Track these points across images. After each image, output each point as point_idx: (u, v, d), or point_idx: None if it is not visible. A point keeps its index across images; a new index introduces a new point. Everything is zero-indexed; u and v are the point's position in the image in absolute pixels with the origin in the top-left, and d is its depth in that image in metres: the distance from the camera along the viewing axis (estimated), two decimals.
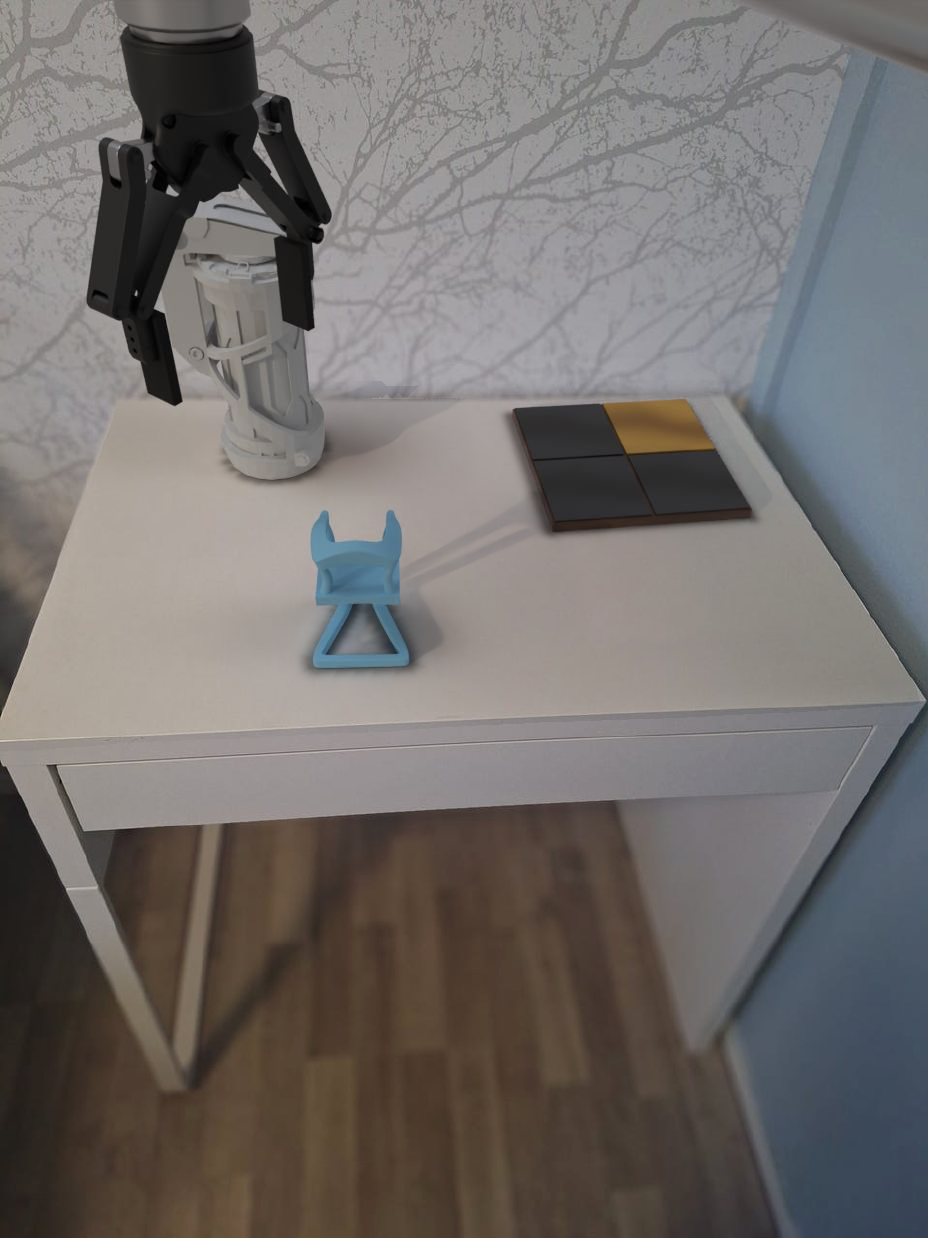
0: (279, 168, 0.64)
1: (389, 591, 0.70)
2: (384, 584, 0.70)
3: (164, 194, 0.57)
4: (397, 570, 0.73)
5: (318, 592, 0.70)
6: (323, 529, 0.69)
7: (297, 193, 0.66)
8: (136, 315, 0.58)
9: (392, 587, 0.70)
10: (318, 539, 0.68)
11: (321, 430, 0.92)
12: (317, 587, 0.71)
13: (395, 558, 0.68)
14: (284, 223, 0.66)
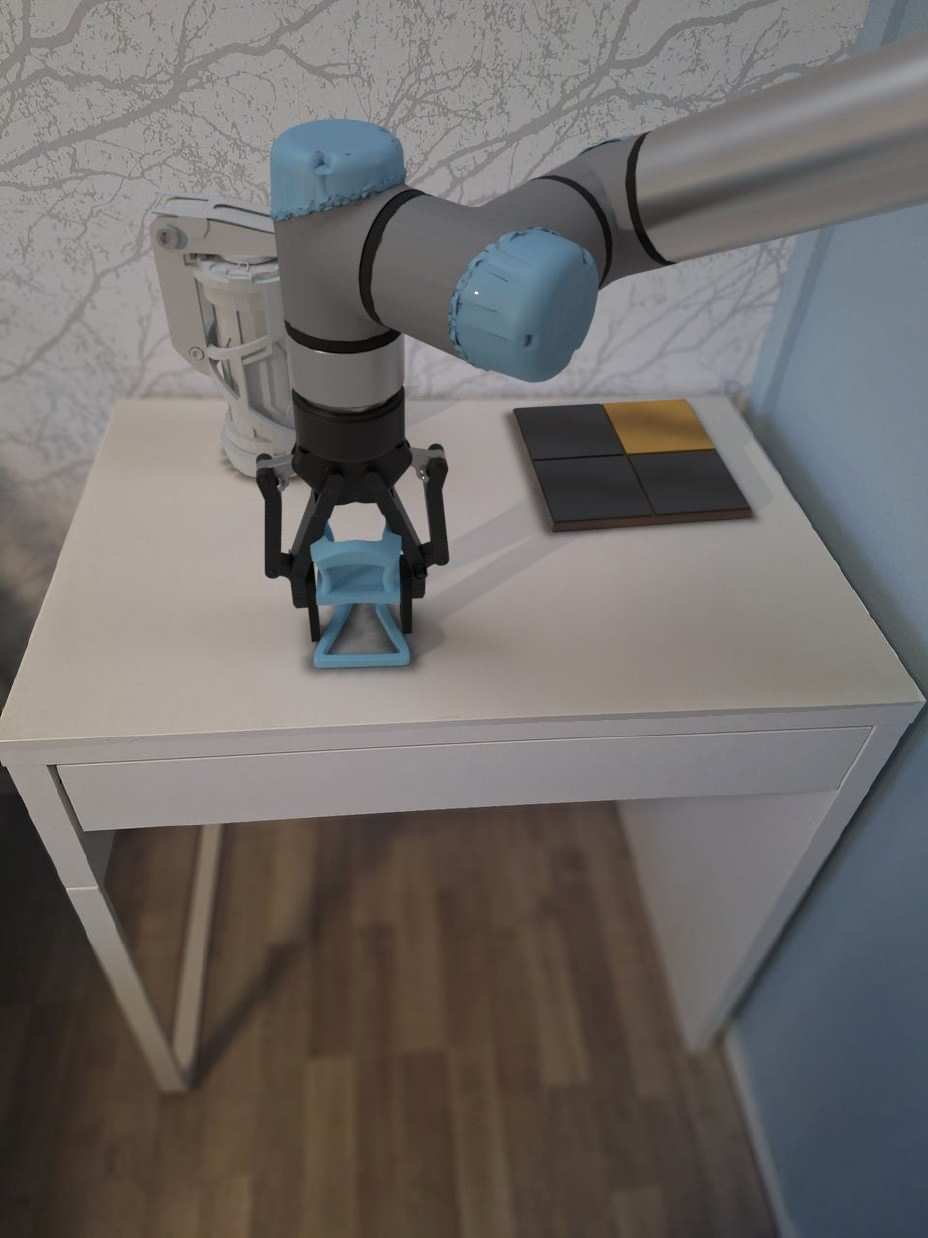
0: None
1: (389, 590, 0.70)
2: (384, 583, 0.70)
3: (314, 497, 0.67)
4: (397, 569, 0.73)
5: (319, 592, 0.70)
6: None
7: (429, 529, 0.71)
8: None
9: (392, 586, 0.70)
10: None
11: None
12: (317, 587, 0.71)
13: (395, 557, 0.68)
14: None
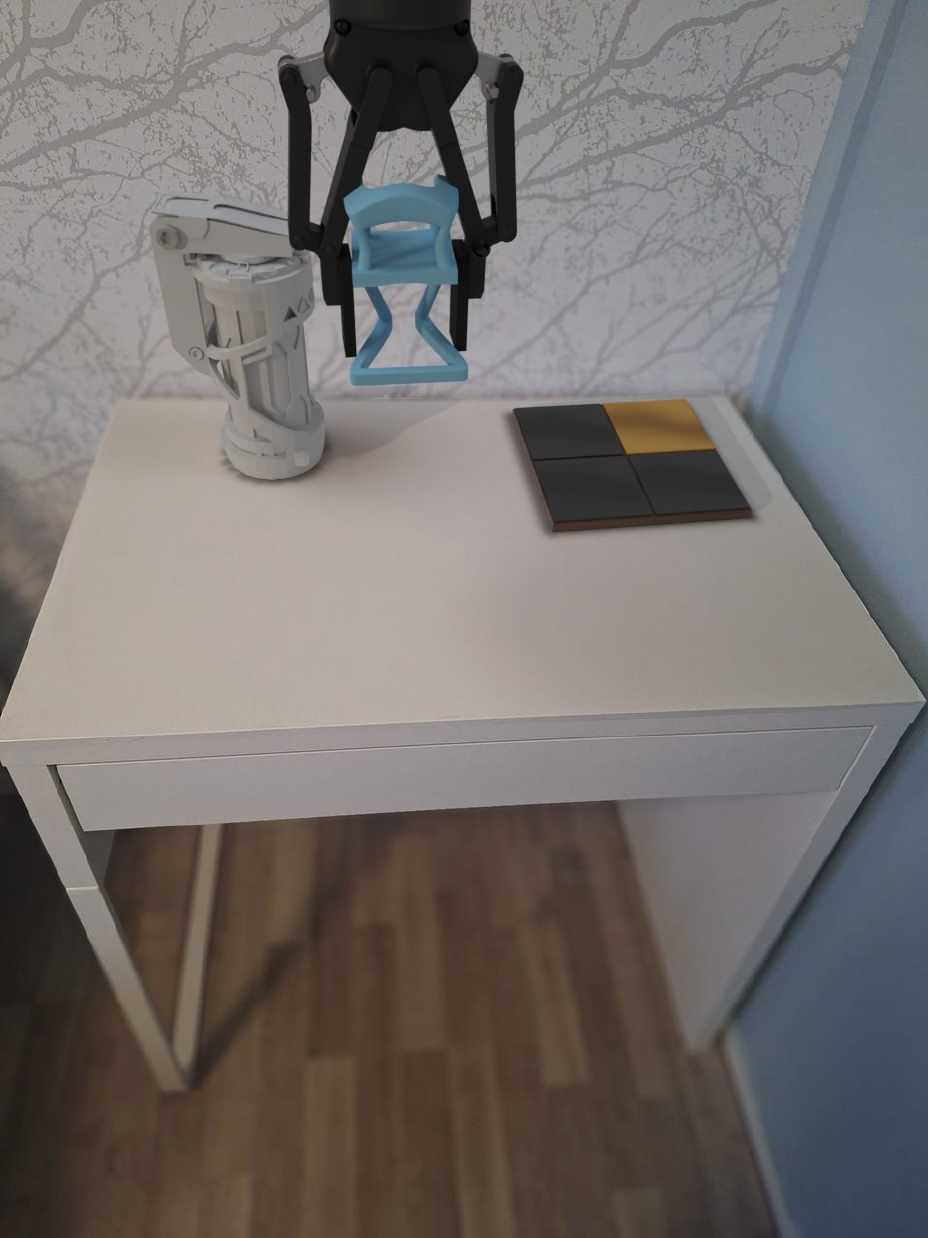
0: (489, 151, 0.55)
1: (443, 265, 0.56)
2: (437, 255, 0.56)
3: (351, 124, 0.52)
4: (450, 250, 0.58)
5: (355, 270, 0.56)
6: None
7: (492, 189, 0.56)
8: None
9: (447, 259, 0.56)
10: None
11: (321, 430, 0.92)
12: (353, 265, 0.56)
13: (452, 208, 0.54)
14: (459, 216, 0.57)
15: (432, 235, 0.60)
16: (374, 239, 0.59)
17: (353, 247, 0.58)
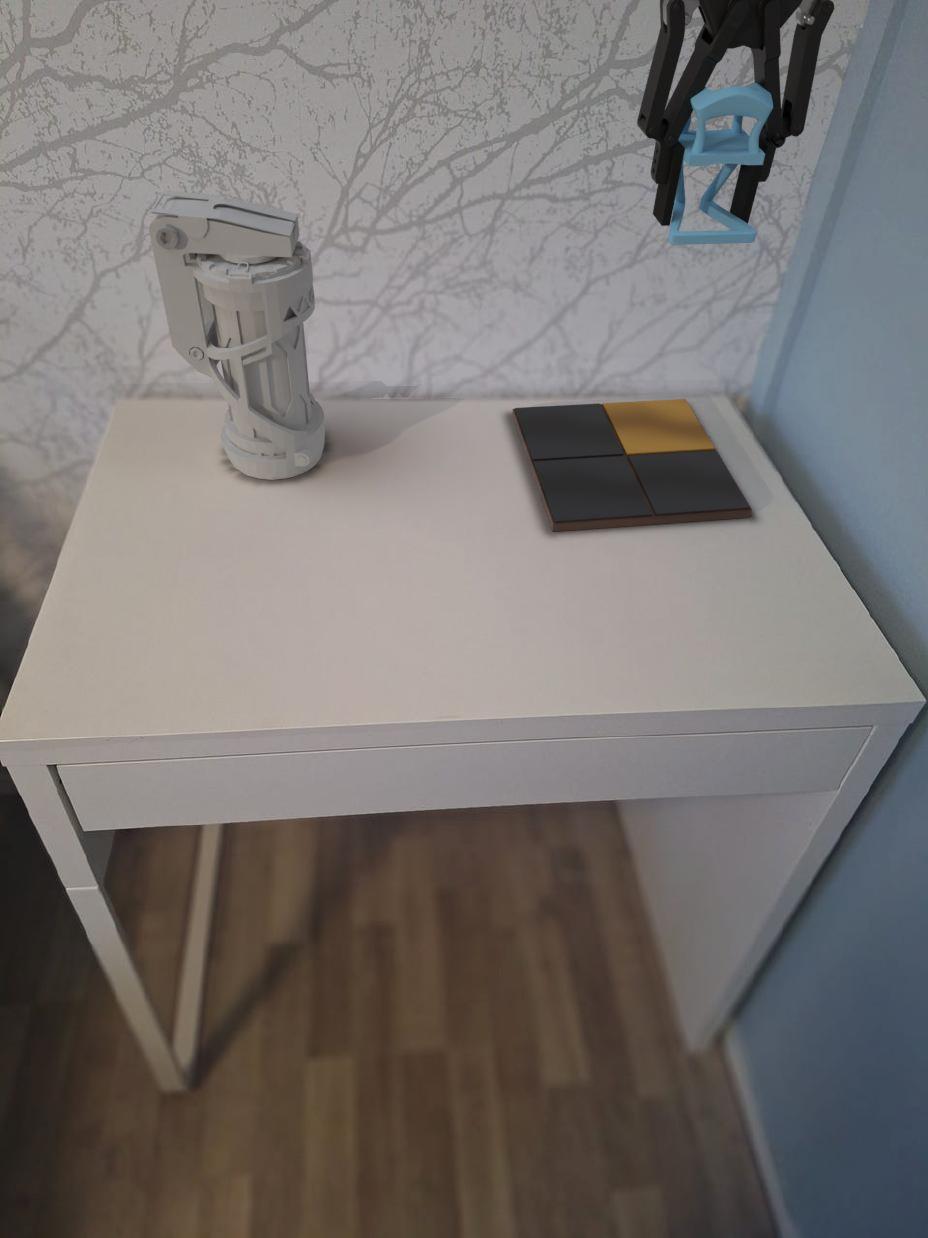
0: (790, 67, 0.76)
1: (754, 150, 0.77)
2: (751, 142, 0.77)
3: (704, 43, 0.73)
4: None
5: (691, 152, 0.77)
6: None
7: (789, 95, 0.77)
8: (664, 142, 0.77)
9: (757, 146, 0.77)
10: None
11: (321, 430, 0.92)
12: (687, 150, 0.77)
13: (770, 105, 0.74)
14: None
15: (733, 132, 0.80)
16: (691, 135, 0.80)
17: (679, 139, 0.79)
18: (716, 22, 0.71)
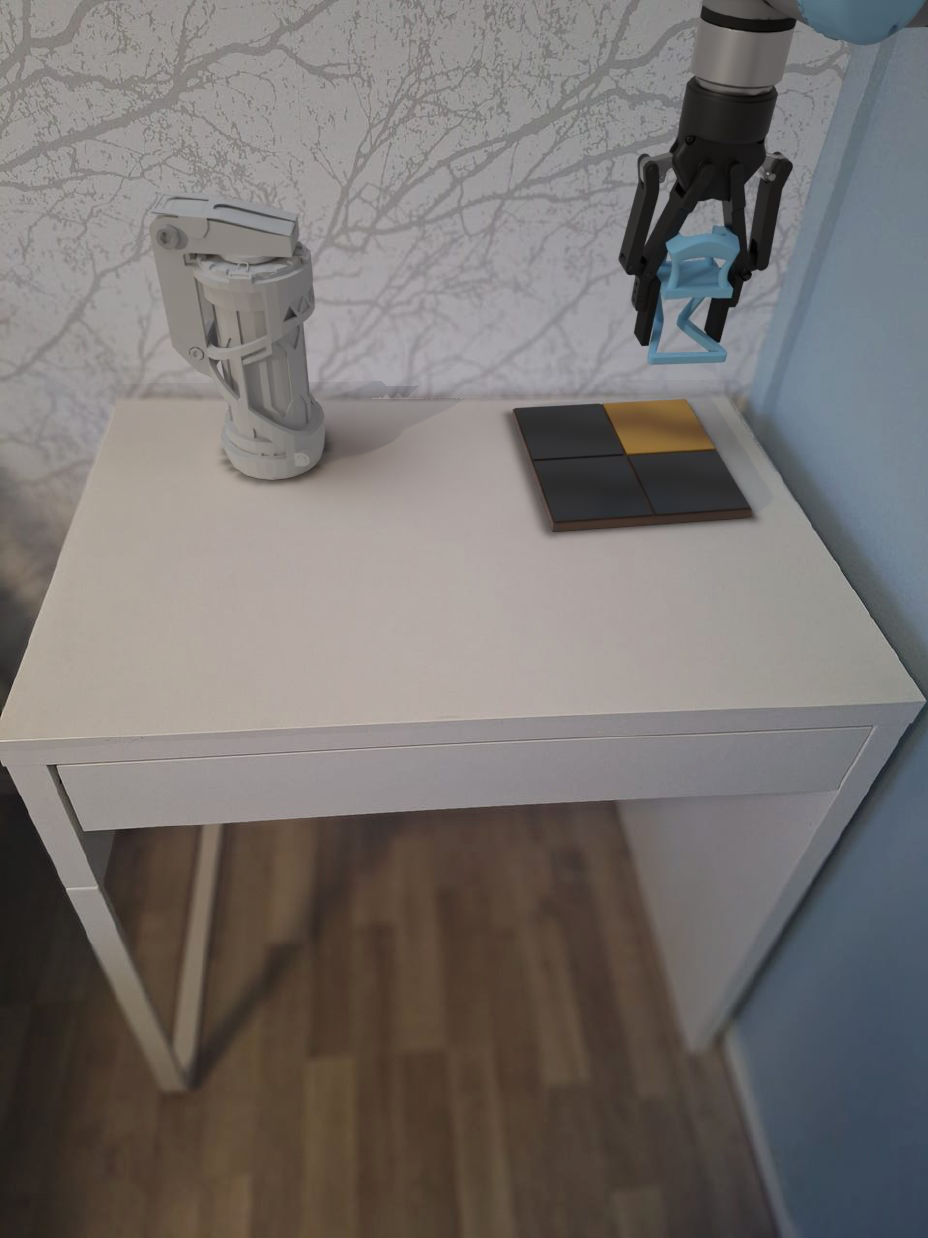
0: (756, 212, 0.85)
1: (723, 285, 0.85)
2: (720, 278, 0.85)
3: (677, 195, 0.82)
4: None
5: (666, 288, 0.85)
6: None
7: (755, 236, 0.86)
8: (642, 278, 0.86)
9: (726, 281, 0.85)
10: None
11: (321, 430, 0.92)
12: (663, 285, 0.86)
13: (737, 249, 0.83)
14: None
15: (705, 264, 0.89)
16: (668, 267, 0.89)
17: None
18: (687, 181, 0.80)
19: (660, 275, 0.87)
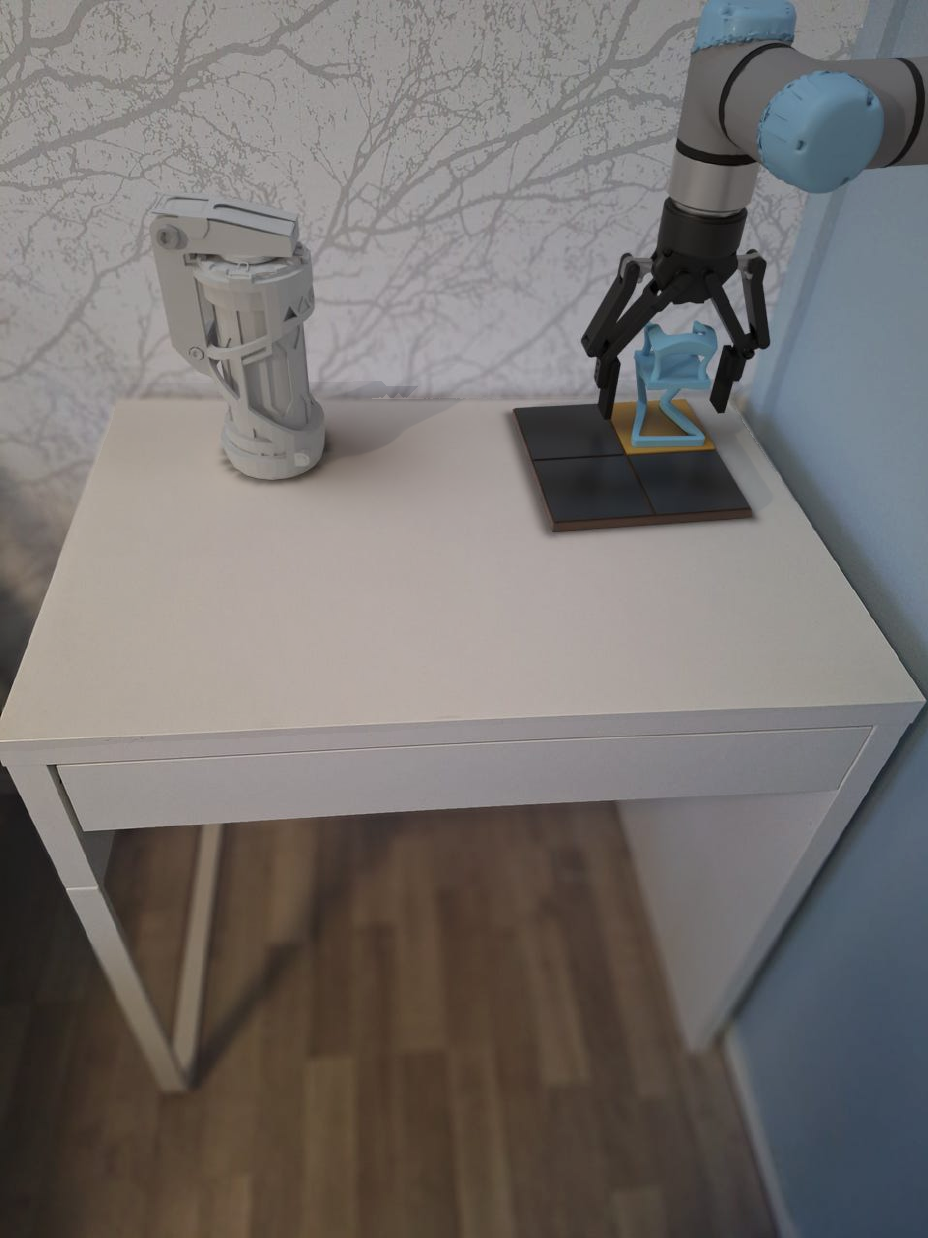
0: (746, 301, 0.91)
1: (702, 378, 0.92)
2: (700, 372, 0.92)
3: (651, 293, 0.88)
4: None
5: (650, 379, 0.92)
6: (659, 327, 0.90)
7: (751, 321, 0.92)
8: (602, 358, 0.91)
9: (705, 375, 0.92)
10: (656, 334, 0.90)
11: (321, 430, 0.92)
12: (647, 376, 0.93)
13: (715, 347, 0.90)
14: (731, 337, 0.93)
15: (686, 355, 0.96)
16: (652, 357, 0.95)
17: (641, 362, 0.95)
18: (666, 287, 0.87)
19: (644, 366, 0.94)
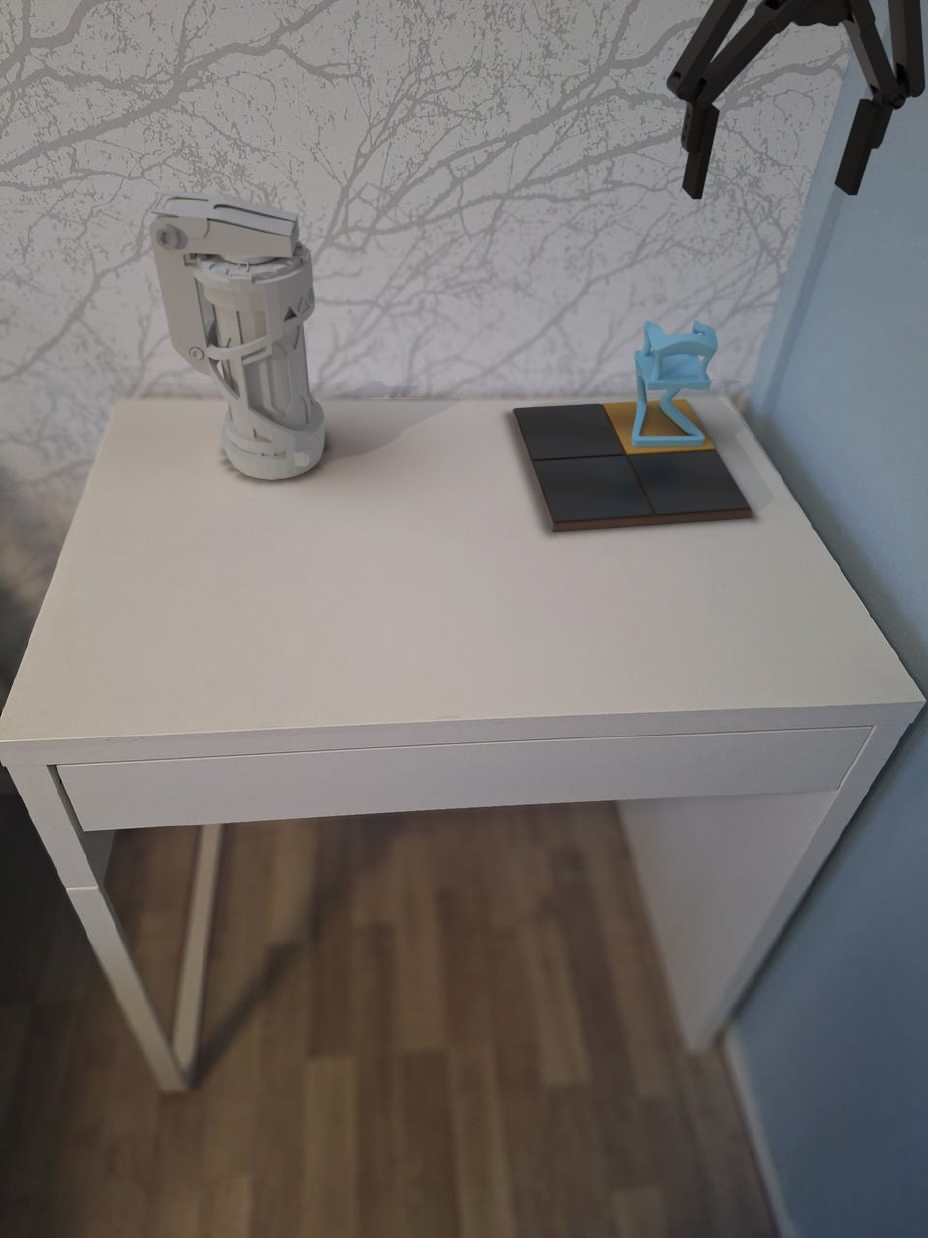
0: (893, 30, 0.70)
1: (702, 378, 0.92)
2: (700, 372, 0.92)
3: (768, 8, 0.67)
4: None
5: (650, 379, 0.92)
6: (659, 327, 0.90)
7: (899, 59, 0.71)
8: (696, 102, 0.69)
9: (705, 375, 0.92)
10: (656, 334, 0.90)
11: (321, 430, 0.92)
12: (647, 376, 0.93)
13: (715, 347, 0.90)
14: (872, 82, 0.71)
15: (686, 355, 0.96)
16: (652, 357, 0.95)
17: (641, 362, 0.95)
18: None
19: (644, 366, 0.94)
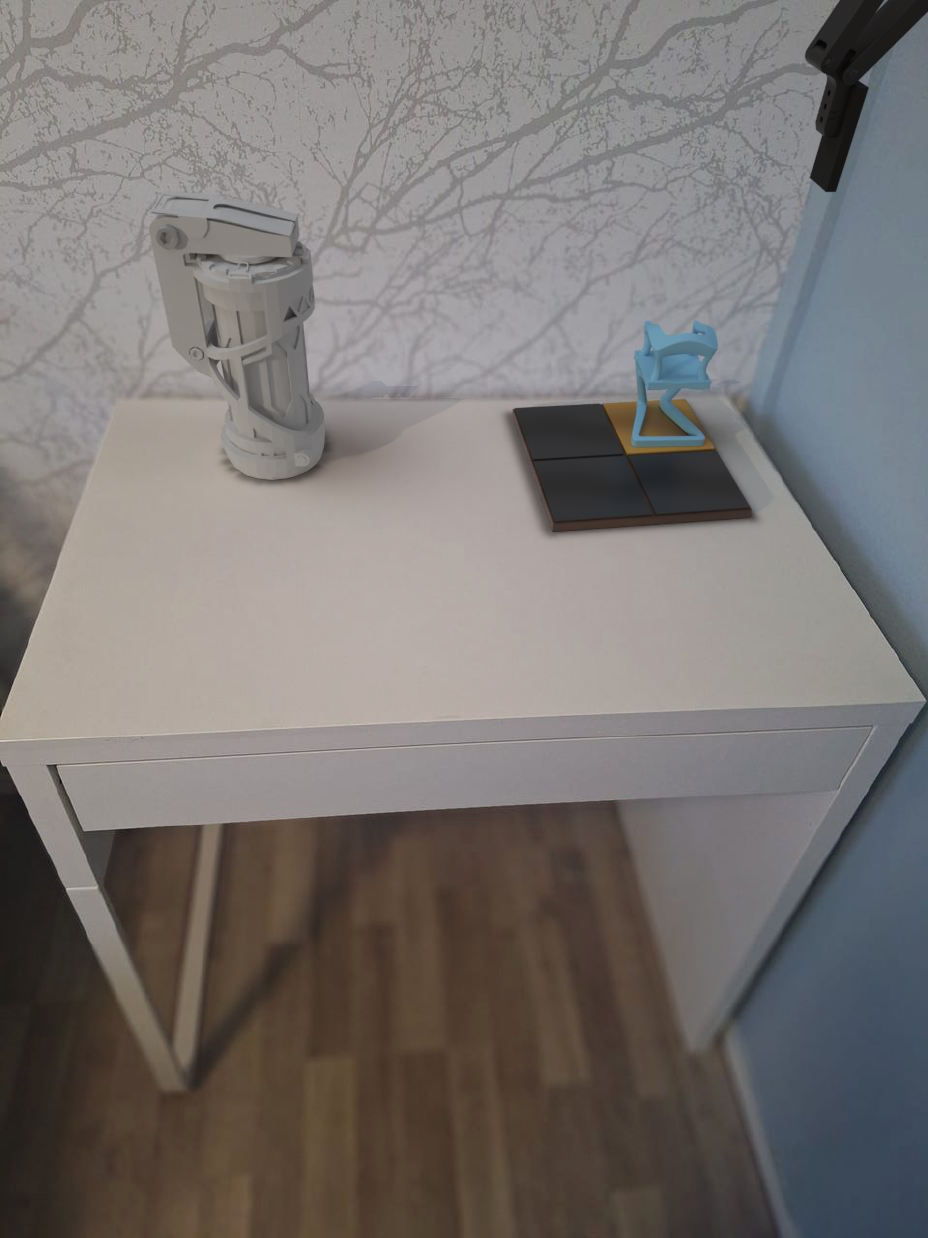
0: None
1: (702, 378, 0.92)
2: (700, 372, 0.92)
3: None
4: None
5: (650, 379, 0.92)
6: (659, 327, 0.90)
7: None
8: (841, 77, 0.59)
9: (705, 375, 0.92)
10: (656, 334, 0.90)
11: (321, 430, 0.92)
12: (647, 376, 0.93)
13: (715, 347, 0.90)
14: None
15: (686, 355, 0.96)
16: (652, 357, 0.95)
17: (641, 362, 0.95)
18: None
19: (644, 366, 0.94)
